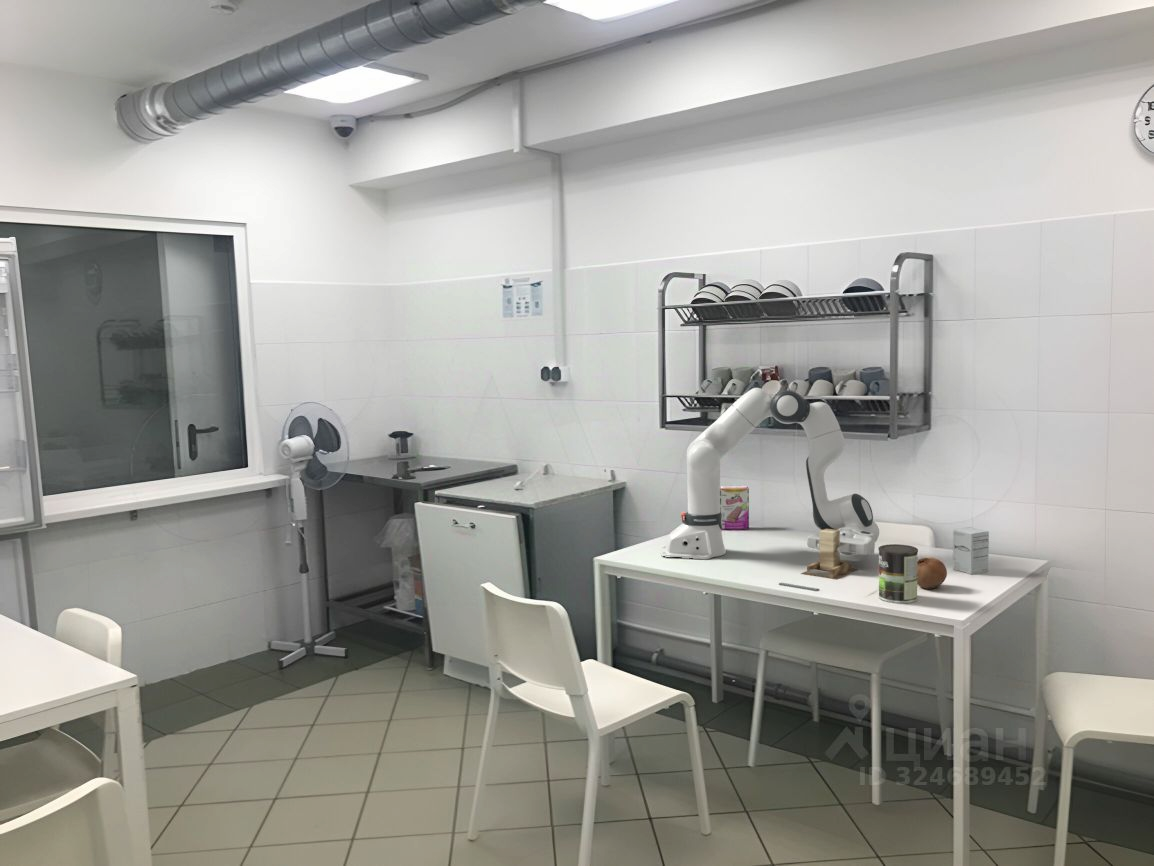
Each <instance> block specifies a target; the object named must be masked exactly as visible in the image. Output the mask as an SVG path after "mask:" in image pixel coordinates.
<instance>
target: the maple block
mask: <svg viewBox="0 0 1154 866" xmlns="http://www.w3.org/2000/svg"><path fill="white" fill-rule="evenodd" d="M818 534H819V537H820V550H819V561H820V570H827V571H830V569H832V568H834V567H836V566H838V565H840V560H841V553H837V552H835V550H836V549H835V547H836V546H840V530H839V529H838V530H833V529H824V530H821V529H820V530H819V533H818Z"/></svg>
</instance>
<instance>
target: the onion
mask: <svg viewBox="0 0 1154 866" xmlns="http://www.w3.org/2000/svg"><path fill="white" fill-rule="evenodd" d="M947 576H948V571H947V568H946V566H945V564H944V562H942V561H941V560H940V559H939V558H936V557H921V558H920V559H917V586H919V587H920V588H922V589H926V590H929V589H931V590H932V589H936V588H938V587H941V585H942V584H944V583H945V581H946V578H947Z"/></svg>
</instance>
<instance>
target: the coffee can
mask: <svg viewBox="0 0 1154 866" xmlns="http://www.w3.org/2000/svg"><path fill="white" fill-rule="evenodd" d="M918 553H919V548H917V547H915V546H912V545H908V544H898V543H897V544H896V543H895V544H890V543H889V544H884V545H883V544H882V545H881V546H878V599H879V600H881V601H883V600H884V602H886V601H887V602H888V603H891V602H892V603H893V604H911V602H912V603H915V602H916V601H918V585H917V560H918V555H919V554H918Z"/></svg>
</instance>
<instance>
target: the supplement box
mask: <svg viewBox="0 0 1154 866" xmlns="http://www.w3.org/2000/svg"><path fill="white" fill-rule="evenodd" d="M952 534H953V538H952V548H953V549H952V569H953V570H954V571H955V570H956V571H959V572H963V573H967V574H969V575H976V574H980V573H985V572H989V556H990V555H989V552H990V551H989V550H990V547H989V545H990V543H989V542H990V541H989V539H990V536H989V535H990V531H988V530H984V529H979V528H975V527H972V526H971V527H970V526H969V527H962V528H955V529H953V533H952Z"/></svg>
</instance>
